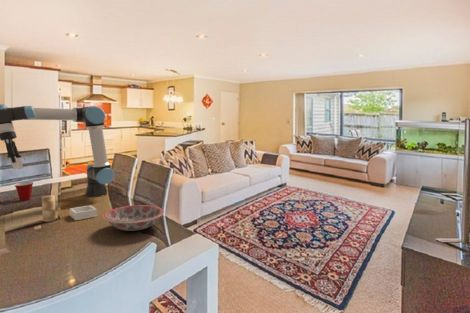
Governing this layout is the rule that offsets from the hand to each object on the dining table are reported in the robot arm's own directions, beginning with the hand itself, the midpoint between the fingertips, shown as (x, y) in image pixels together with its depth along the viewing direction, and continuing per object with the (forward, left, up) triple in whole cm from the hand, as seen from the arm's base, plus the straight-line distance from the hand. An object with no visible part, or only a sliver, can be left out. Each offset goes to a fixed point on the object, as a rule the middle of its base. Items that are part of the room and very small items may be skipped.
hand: (18, 168), depth 163 cm
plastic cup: (-6, -35, -27) cm, 44 cm away
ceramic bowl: (-40, +63, -27) cm, 79 cm away
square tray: (-26, +26, -26) cm, 45 cm away
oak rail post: (-10, +22, -26) cm, 36 cm away
